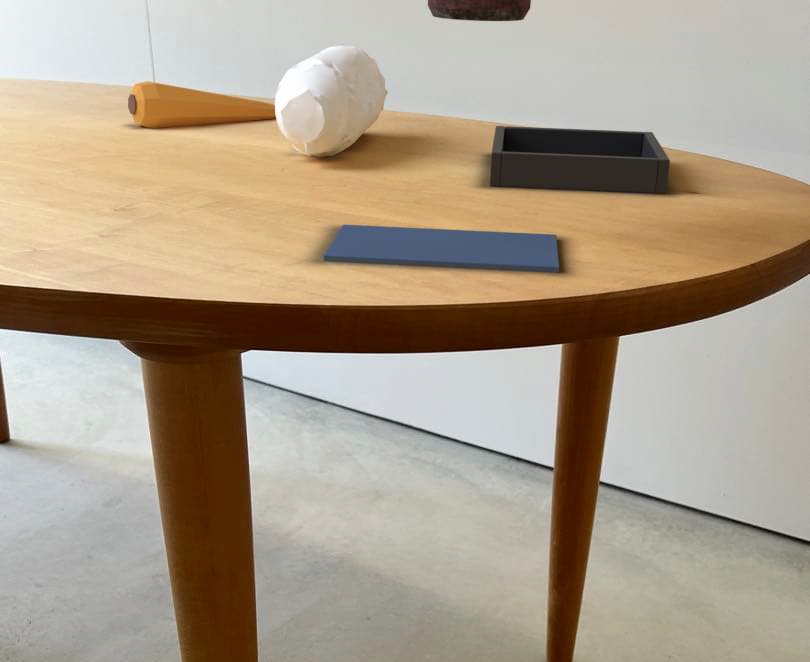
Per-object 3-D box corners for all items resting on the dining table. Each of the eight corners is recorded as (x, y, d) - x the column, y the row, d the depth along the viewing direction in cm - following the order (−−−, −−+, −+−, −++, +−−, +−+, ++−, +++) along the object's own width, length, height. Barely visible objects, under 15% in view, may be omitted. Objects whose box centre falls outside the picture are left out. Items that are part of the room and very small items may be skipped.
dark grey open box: (648, 164, 98) (652, 132, 96) (665, 196, 86) (670, 160, 84) (493, 157, 99) (495, 125, 97) (489, 188, 87) (491, 152, 85)
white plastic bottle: (256, 169, 91) (251, 65, 88) (304, 132, 108) (302, 43, 104) (351, 174, 91) (350, 69, 87) (385, 136, 107) (386, 46, 103)
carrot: (136, 138, 107) (143, 94, 104) (120, 113, 109) (126, 69, 106) (316, 144, 118) (327, 105, 114) (298, 122, 120) (309, 82, 117)
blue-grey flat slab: (555, 242, 72) (556, 234, 72) (558, 275, 65) (559, 266, 65) (342, 231, 73) (342, 224, 73) (323, 263, 66) (323, 255, 66)
